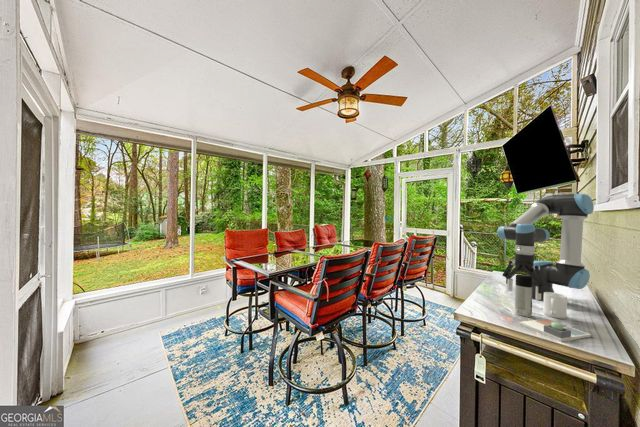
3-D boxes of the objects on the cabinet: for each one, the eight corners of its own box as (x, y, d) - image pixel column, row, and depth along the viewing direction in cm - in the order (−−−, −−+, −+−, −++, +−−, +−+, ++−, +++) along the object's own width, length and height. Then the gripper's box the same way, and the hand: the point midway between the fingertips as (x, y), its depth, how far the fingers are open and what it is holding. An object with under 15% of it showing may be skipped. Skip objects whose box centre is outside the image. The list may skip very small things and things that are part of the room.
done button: (554, 328, 104) (555, 321, 104) (565, 332, 101) (565, 325, 101) (549, 329, 103) (549, 322, 103) (559, 333, 100) (559, 325, 100)
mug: (540, 316, 123) (540, 295, 123) (545, 310, 131) (545, 290, 131) (564, 322, 117) (564, 300, 117) (567, 316, 124) (568, 295, 124)
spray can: (534, 318, 120) (535, 278, 120) (517, 315, 123) (518, 276, 123) (528, 313, 127) (529, 275, 127) (512, 311, 129) (513, 273, 129)
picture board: (546, 320, 118) (547, 313, 118) (591, 336, 103) (591, 328, 103) (519, 324, 113) (519, 316, 113) (561, 341, 98) (561, 332, 98)
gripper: (495, 250, 136) (494, 288, 136) (547, 258, 112) (546, 304, 112) (505, 250, 138) (504, 287, 138) (559, 258, 114) (557, 303, 114)
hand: (523, 295), depth 125 cm, fingers open, 13 cm apart
